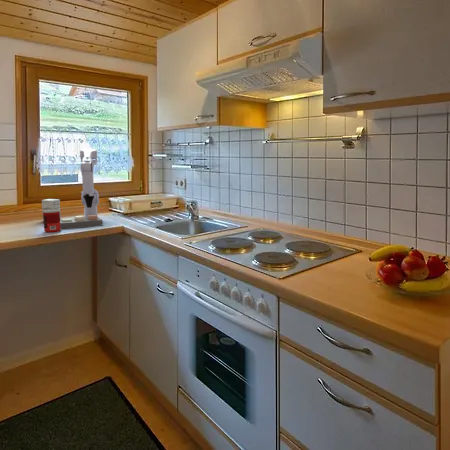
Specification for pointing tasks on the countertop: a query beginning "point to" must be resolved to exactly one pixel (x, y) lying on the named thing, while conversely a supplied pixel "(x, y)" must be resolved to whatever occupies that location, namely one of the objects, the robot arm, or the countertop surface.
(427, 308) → the countertop surface
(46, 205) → the white canister
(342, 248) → the countertop surface
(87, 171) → the robot arm
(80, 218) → the cream button
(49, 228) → the canned food
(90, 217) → the terracotta button
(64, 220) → the sage button
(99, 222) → the console
